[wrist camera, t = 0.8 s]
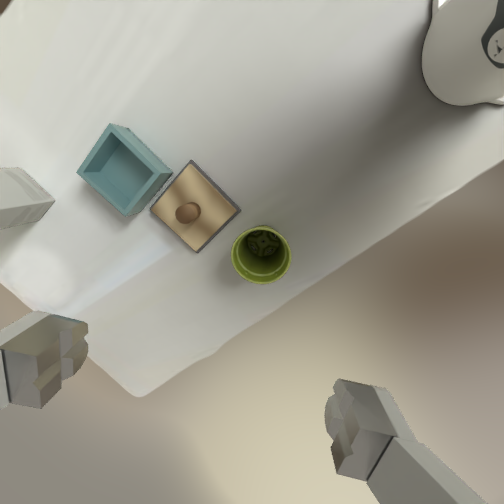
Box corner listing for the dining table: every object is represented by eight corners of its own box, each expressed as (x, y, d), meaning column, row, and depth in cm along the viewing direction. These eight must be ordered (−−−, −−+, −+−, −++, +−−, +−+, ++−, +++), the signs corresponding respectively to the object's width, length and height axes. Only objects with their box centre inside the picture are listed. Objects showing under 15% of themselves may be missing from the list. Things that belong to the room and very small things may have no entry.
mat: (191, 159, 42) (190, 159, 41) (241, 209, 44) (240, 210, 43) (151, 208, 45) (149, 208, 45) (198, 252, 47) (197, 253, 47)
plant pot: (257, 272, 48) (254, 294, 40) (228, 235, 46) (218, 250, 38) (297, 246, 45) (303, 264, 37) (268, 206, 43) (267, 215, 35)
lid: (191, 164, 41) (179, 163, 36) (236, 210, 43) (232, 216, 38) (153, 208, 44) (137, 214, 39) (197, 249, 46) (188, 260, 41)
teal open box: (128, 128, 41) (109, 123, 36) (173, 172, 43) (161, 173, 38) (97, 171, 44) (76, 172, 39) (140, 211, 46) (125, 216, 41)
